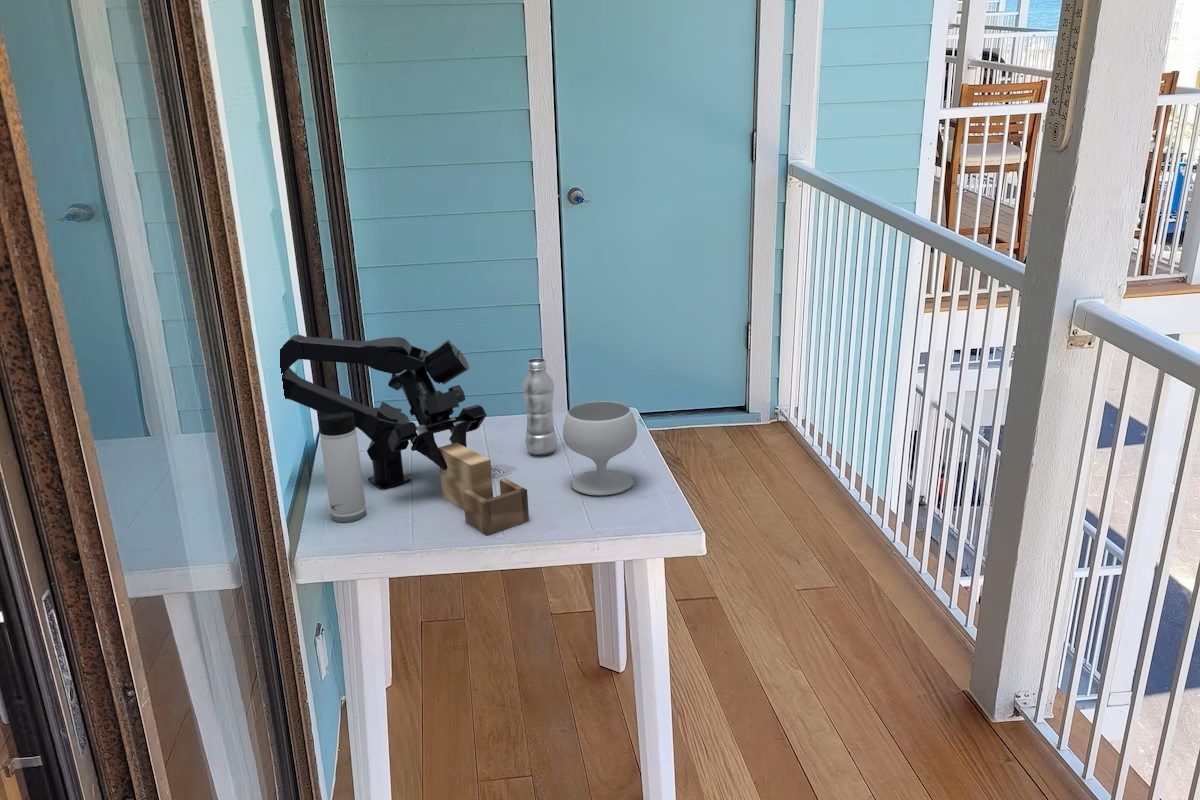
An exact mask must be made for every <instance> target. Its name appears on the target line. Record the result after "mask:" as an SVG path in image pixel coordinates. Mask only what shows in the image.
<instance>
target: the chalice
mask: <svg viewBox="0 0 1200 800" xmlns="http://www.w3.org/2000/svg"><path fill="white" fill-rule="evenodd" d="M637 436H638V426H637V421H636V418H635V416H634V413H633V412H632V410H631V408H630V407H629V406H628V405H627V404H624V403H622V402H618V401H610V400H595V401H587V402H583V403H582V402H581V403H579V404H576V405H574V406H572V407H571V408H569V409H568V411H567V414H566V415H565V418H564V422H563V427H562V437H563V441H564V444H565V445H566V446H567V447H568V448H569V449H570V450H571V451H573V452H574V453H576V454H578V455H580V456H584V457H586V458H589V459H590V460H592V461H593V462H594V463H595V465H596V469H594V470H590V471H589V470H588V471H586V472H582V473H580V474H578V475H577V476H575V477H574V478H572V480H571V482H570V487H571V489H572V490H574V491H576V492H578V493H580V494H585V495H590V496H610V495H616V494H620V493H622V492H626V491H627V490H629V489H630V488H631V487H633V485H634V483H635V481H634V478H633V476H631V475H630V474H628V473H625V472H623V471H620V470H613V469H607V466H608V463H609V461H610V460H611V459H612V458H615V457H616V456H618V455H620V454H621V453H625V452H626V451H628V449H630V448H631V447H632V446H633V445H634V443H635V442H636V438H637Z"/></svg>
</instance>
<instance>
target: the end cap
mask: <svg viewBox="0 0 1200 800" xmlns="http://www.w3.org/2000/svg"><path fill="white" fill-rule="evenodd" d="M499 491H500V494H499V495H497V496H496V495H495V496H493V498H490V499H487V500H486V499H484V498H483V497H481V496H479V495H477V494H476V493H474V492H472V491H471V490H465V491H463V499H464V510H463V511H464V517H465V518H464V520H465V524H467V525H469V526H471V527H472V528H474V529H475V530H477V531H478V532H480V533H482V534H483V533H484V534H483V535H485V536H486V535H487V536H489V535H492V534H495V533H498V531H499V532H501V531H504V530H506V528H507V529H509V528H512V527H516V526H518V525H521V524H524V523H527V522H530V514H529V512H530V511H529V500H528V499H529V497H528V489H527V488H525V487H523V486H521V485H519V484H517V483H516V482H514V481H512V480H509V479H508V478H506V477H504V478H501V479H499Z"/></svg>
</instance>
